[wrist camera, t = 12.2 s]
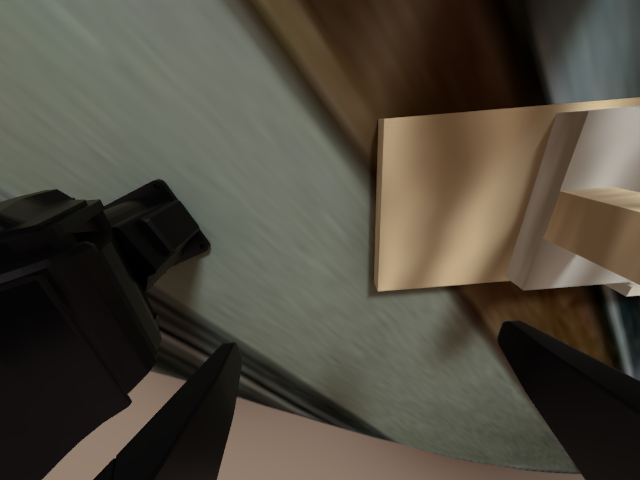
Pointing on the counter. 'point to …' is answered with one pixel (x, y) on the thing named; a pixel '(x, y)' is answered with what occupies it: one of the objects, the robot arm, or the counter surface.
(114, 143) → the counter surface
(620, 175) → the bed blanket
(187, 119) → the counter surface
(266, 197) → the counter surface
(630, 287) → the tray
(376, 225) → the board
